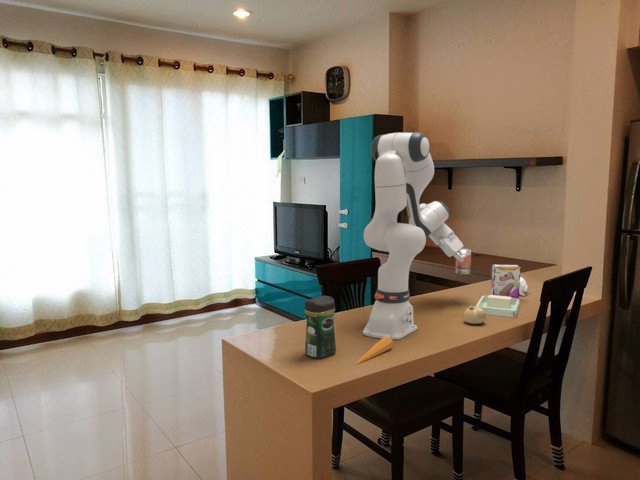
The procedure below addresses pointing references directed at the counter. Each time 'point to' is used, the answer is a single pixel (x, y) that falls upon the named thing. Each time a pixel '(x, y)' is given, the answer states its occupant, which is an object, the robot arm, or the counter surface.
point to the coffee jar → (320, 327)
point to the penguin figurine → (522, 287)
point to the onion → (474, 315)
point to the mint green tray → (499, 311)
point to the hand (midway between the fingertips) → (464, 259)
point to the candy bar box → (505, 280)
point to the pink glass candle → (464, 262)
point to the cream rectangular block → (499, 301)
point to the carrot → (377, 349)
